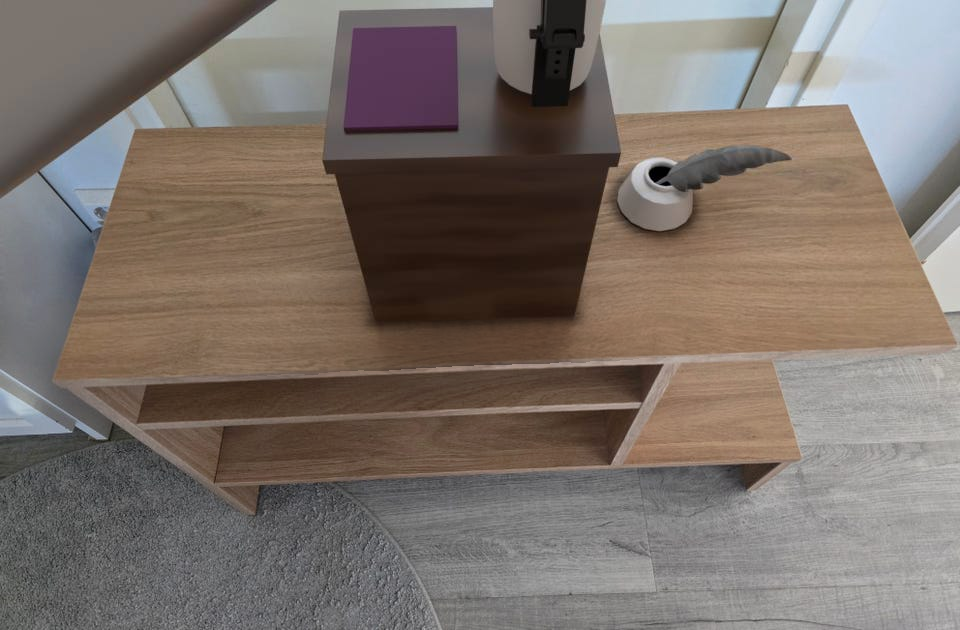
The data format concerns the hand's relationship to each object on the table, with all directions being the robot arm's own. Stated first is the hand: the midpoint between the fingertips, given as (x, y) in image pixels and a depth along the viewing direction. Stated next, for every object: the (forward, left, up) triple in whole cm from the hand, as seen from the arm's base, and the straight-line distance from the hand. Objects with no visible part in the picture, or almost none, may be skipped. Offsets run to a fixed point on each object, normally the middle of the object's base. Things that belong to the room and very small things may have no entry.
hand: (543, 49), depth 55 cm
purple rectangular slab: (-4, +11, -3) cm, 12 cm away
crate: (-2, +5, -29) cm, 29 cm away
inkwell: (+15, -17, -29) cm, 36 cm away
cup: (0, 0, -3) cm, 3 cm away
